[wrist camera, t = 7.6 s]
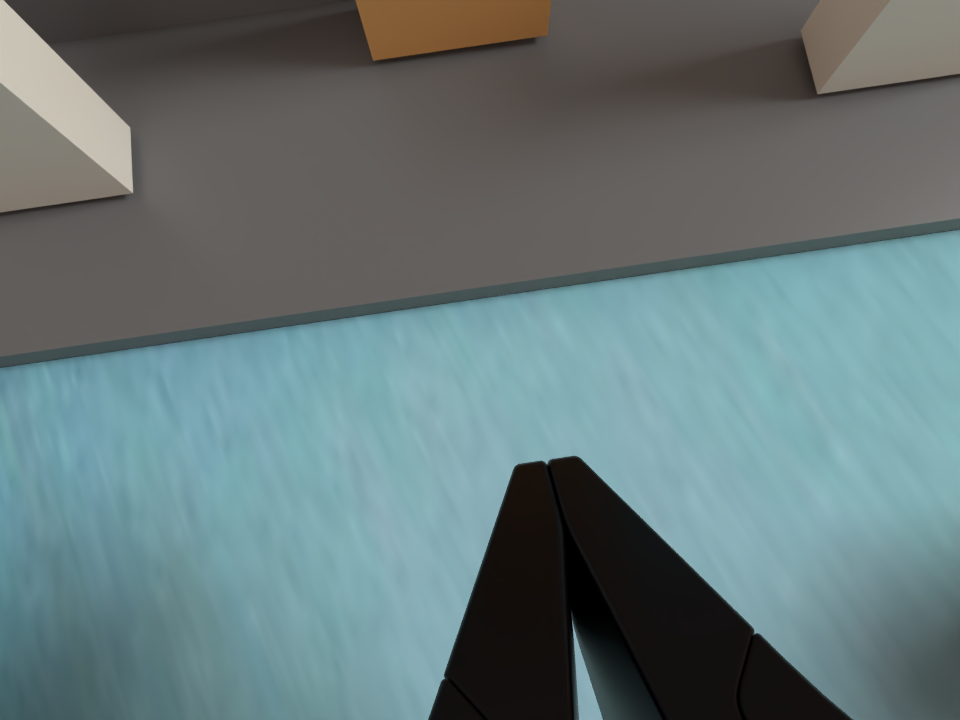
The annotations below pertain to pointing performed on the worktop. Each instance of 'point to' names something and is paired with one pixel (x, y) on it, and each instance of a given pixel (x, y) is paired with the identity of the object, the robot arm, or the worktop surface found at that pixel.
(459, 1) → the key middle
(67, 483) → the worktop surface
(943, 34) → the key
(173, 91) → the long grey base rail
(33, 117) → the key
